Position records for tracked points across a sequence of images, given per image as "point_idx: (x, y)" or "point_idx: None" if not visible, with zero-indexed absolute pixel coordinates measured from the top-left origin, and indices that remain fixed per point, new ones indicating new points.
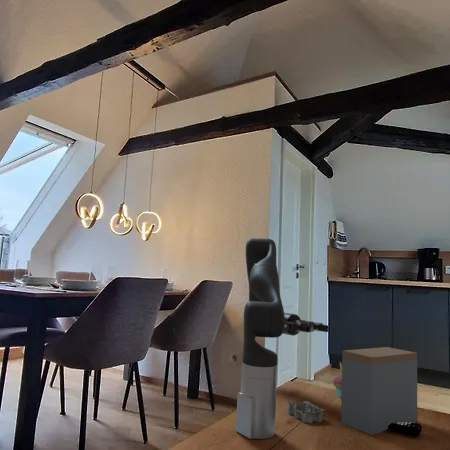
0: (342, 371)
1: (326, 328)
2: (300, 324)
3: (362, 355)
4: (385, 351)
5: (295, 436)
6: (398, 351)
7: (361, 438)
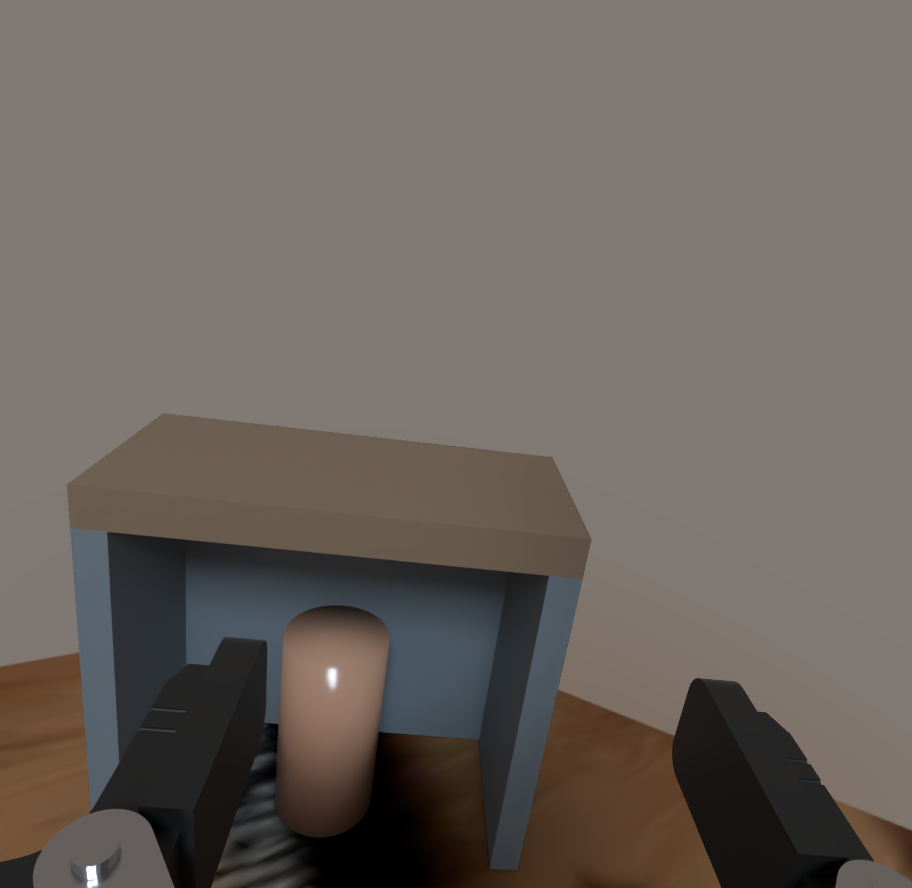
0: (566, 649)
1: (262, 684)
2: (865, 870)
3: (562, 479)
4: (309, 461)
5: None
6: (222, 442)
7: (562, 734)
